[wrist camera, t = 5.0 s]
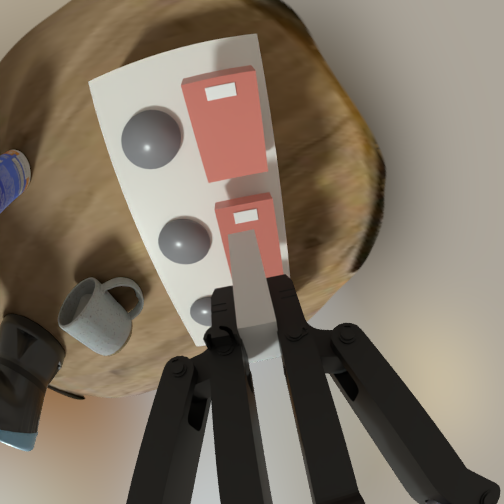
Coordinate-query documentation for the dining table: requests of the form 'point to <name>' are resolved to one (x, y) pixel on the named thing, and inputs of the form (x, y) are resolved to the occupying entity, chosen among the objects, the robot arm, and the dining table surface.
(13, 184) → the pill bottle
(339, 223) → the dining table surface
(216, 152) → the block
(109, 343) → the ceramic mug
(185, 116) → the switch panel
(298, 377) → the robot arm
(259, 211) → the block
